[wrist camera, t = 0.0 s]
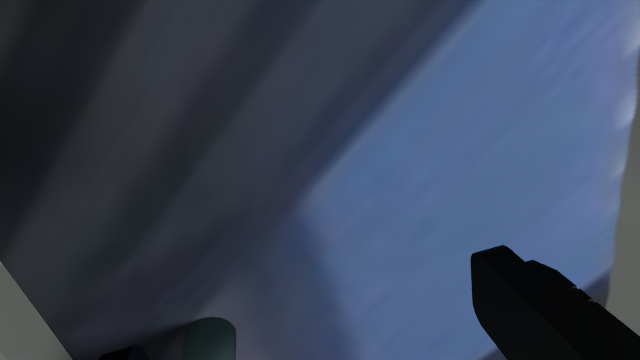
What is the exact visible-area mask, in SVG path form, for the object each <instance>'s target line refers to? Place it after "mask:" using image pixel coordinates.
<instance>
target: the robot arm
mask: <svg viewBox="0 0 640 360" xmlns="http://www.w3.org/2000/svg"><path fill="white" fill-rule="evenodd" d="M471 280H472V301H473V307H474V310H475V313H476V316H477V318H478V320H479V322H480V324H481V326H482V327H483V329H484V330H485V331H486V333H487V334H488V335H489V336H490V338H491V339H492V340H493V342H494V343H495V344H496V346H497V347H498V348H499V349H500V351H501V352H502V353H503V355H504V356H505V357H506V359H507V360H640V336H639V335H637V334H636V333H635V332H634V331H632V330H631V329H630V328H629V327H627V326H626V325H625V324H624V323H622V322H621V321H620V320H618V319H617V318H616V317H615V316H613V315H612V314H611V313H610V312H608V311H607V310H606V309H605V308H603V307H602V306H601V305H600V304H598V303H597V302H595V303H594V302H593V300H592V298H591V297H590V296H588V295H587V294H586V293H585V292H583V291H582V290H581V289H577V287H576V285H575V284H573V283H572V282H571V281H570V280H568V279H567V278H566V277H565V276H563V275H562V274H561V273H560V272H558V271H557V270H555V269H553V268H550V267H548V266H546V265H544V264H541V263H539V262H537V261H534V260H530V261H527V262H525V261H524V260H522V259H521V258H520V257H519V256H518V255H517V254H515V253H514V252H513V251H512V250H511V249H510V248H508V247H507V246H504V245H501V246H497V247H494V248H490V249H487V250H483V251H479V252H476V253H473V254H472V256H471ZM99 360H149V358H148V356H147V354H146V352H145V350H144V349H143V347H141V346H140V345H135V346H132V347H128V348H124V349H121V350H117V351H113V352H110V353H106V354H104V355H102V356H101V357H100V358H99Z"/></svg>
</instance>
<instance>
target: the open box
mask: <svg viewBox="0 0 640 360" xmlns="http://www.w3.org/2000/svg"><path fill="white" fill-rule="evenodd" d="M0 360H73V359H72V358H71V357H70V355H69V354H68V353H67V351H66V350H65V348H64V347H63V346H62V344H61V343H60V342H59V340H58V339H57V338H56V336H55V335H54V334H53V332H52V331H51V329H50V328H49V327H48V325H47V324H46V323H45V321H44V320H43V319H42V317H41V316H40V314H39V313H38V312H37V310H36V309H35V308H34V306H33V305H32V304H31V302H30V301H29V300H28V298H27V297H26V295H25V294H24V293H23V291H22V290H21V289H20V287H19V286H18V285H17V283H16V282H15V281H14V279H13V278H12V276H11V275H10V274H9V272H8V271H7V270H6V268H5V267H4V266H3V264H2V263H1V261H0Z"/></svg>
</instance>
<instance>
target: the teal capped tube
mask: <svg viewBox="0 0 640 360" xmlns="http://www.w3.org/2000/svg"><path fill="white" fill-rule="evenodd" d="M182 360H236V329H235V327H234V326H233V325H232V324H231V323H230V322H229V321H227V320H225V319H222V318H217V317H209V318H204V319H201V320H198V321H196V322H195V323H193V324H192V325H191V326H190V327H189V328H188V330H187V332H186V338H185V344H184V349H183V355H182Z"/></svg>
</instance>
